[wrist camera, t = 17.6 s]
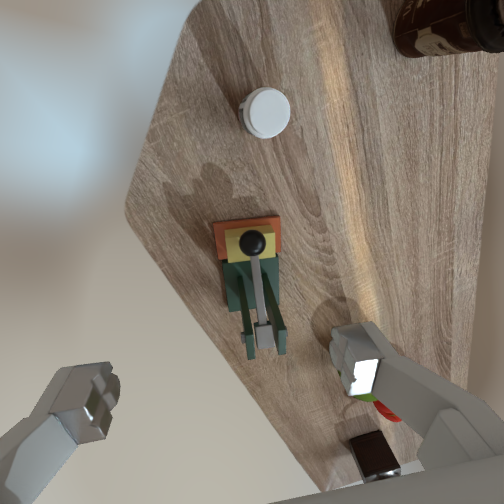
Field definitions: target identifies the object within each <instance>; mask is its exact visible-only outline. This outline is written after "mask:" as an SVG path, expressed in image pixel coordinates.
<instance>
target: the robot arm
mask: <svg viewBox="0 0 504 504" xmlns="http://www.w3.org/2000/svg"><path fill="white" fill-rule="evenodd" d="M331 336H332V338H333V340H332V341H331V342H330V345H329V351H330V357H331V360H332V363H333V365H334V367H335V368H336V369H337V370H339V371H340V372H341V377H340V379H341V382H342V384H343V386H344V388H345V390H346V392H347V394H348V396H353V395H360V394H367V393H372V395H373V396H374V397H375V398H377V399H378V400H379V401H380V402H381V403H382V404H384V405H385V406H386V407H387V408H388V409H390V410H391V411H392V412H393V413H394V414H395V415H397V416H398V417H399V418H400V419H401V420H402V421H404V422H405V423H406V424H407V425H408V426H409V427H411V428H412V429H413V430H414V431H415V432H416V433H418V434H419V435H420V436H421V437H422V438H423V439H424V440H423V442H422V443H421V445H420V447H419V449H418V452H417V457H418V459H419V460H420V462H421V464H422V466H423V467H424V469H425V471H421V472H417V473H412V474H408V475H402V476H398V477H393V478H388V479H383V480H378V481H374V482H369V483H364V484H360V485H355V486H351V487H345V488H341V489H336V490H331V491H326V492H321V493H317V494H312V495H307V496H302V497H298V498H293V499H289V500H284V501H279V502H274V503H269V504H504V422H503V420H501V418H500V417H499V416H498V415H497V414H496V413H495V412H494V411H493V410H492V409H491V408H490V407H489V406H488V405H487V403H486V402H485V401H484V400H482V399H480V398H478V397H476V396H475V395H473V394H471V393H469V392H468V391H466V390H464V389H462V388H461V387H459V386H457V385H455V384H453V383H452V382H450V381H448V380H446V379H445V378H443V377H441V376H439V375H438V374H436V373H434V372H432V371H430V370H429V369H427V368H425V367H423V366H422V365H420V364H418V363H416V362H414V361H413V360H411V359H409V358H407V357H406V356H400V355H399V354H398V353H397V352H396V350H395V349H394V348H393V346H392V345H391V344H390V343H389V341H388V340H387V339H386V337H385V336H384V335H383V334H382V332H381V331H380V330H379V328H378V327H377V326H376V325H375V323H373V322H372V321H370V322H363V323H356V324H349V325H343V326H337V327H333V328H332V330H331ZM112 369H113V367H112V365H111V364H110V362H100V363H92V364H84V365H77V366H69V367H63V368H60V369H59V370H58V371H57V372H56V373H55V375H54V377H53V378H52V380H51V381H50V383H49V385H48V386H47V388H46V389H45V391H44V393H43V394H42V396H41V398H40V399H39V401H38V403H37V404H36V406H35V408H34V409H33V411H32V413H31V414H30V416H29V417H28V418H23V419H22V420H21V421H20V422H18V423H17V424H16V425H15V426H14V427H13V428H11V429H10V430H9V431H8V432H7V433H5V434H4V435H3V436H2V437H1V438H0V504H32V503H33V502H34V501H35V499H36V498H37V497H38V496H39V494H40V493H41V492H42V491H43V489H44V488H45V487H46V486H47V485H48V483H49V482H50V481H51V479H52V478H53V477H54V476H55V475H56V473H57V472H58V471H59V469H60V468H61V467H62V466H63V465H64V463H65V462H66V461H67V460H68V458H69V457H70V456H71V454H72V453H73V452H74V451H75V449H76V448H77V447H78V445H79V444H84V443H88V442H94V441H98V440H103V439H106V436H107V433H108V430H109V427H110V424H111V421H112V415H111V412H110V411H111V410H112V409H113V408H114V407H115V406H116V405H117V402H118V399H119V396H120V381H119V379H118V377H117V375H115V374H113V373H111V372H112Z"/></svg>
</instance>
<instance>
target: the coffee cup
mask: <svg viewBox="0 0 504 504" xmlns="http://www.w3.org/2000/svg"><path fill="white" fill-rule="evenodd" d="M393 39H394V43H395V45H396V47H397V50H398V51H399V53H400V54H401V55H403V56H405V57H409V58H419V57H424V56H433V57H435V56H443V55H452V54H461V53H467V52H477V51H481V50H482V51H485V52H489V53H500V52H504V0H406V1H405V2H404V4H403V5H402V7H401V9H400V11H399V13H398V15H397V18H396V21H395V25H394V34H393Z"/></svg>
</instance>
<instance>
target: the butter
mask: <svg viewBox="0 0 504 504" xmlns="http://www.w3.org/2000/svg"><path fill="white" fill-rule="evenodd" d="M213 227H214V234H215V240H216V247H217V254H218V260H221V259H228V263H232V262H240V261H248V260H250V257H249V256H247V255H245V254H244V253H242V251H241V250H240V247H239V239H240V237H241V235H242V234H243V233H244V232H245V231H247V230H252V229H253V230H258V231H260V232H261V233H262V234H263V235H264V237H265V239H266V248H265V250H264V251H263V253H261V254H260V255H259V259H264V258H272V257H276V254H275V253H277V252H281V226H280V216H279V215H278V216H269V217H260V218H251V219H242V220H233V221H224V222H215V223H213Z"/></svg>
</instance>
